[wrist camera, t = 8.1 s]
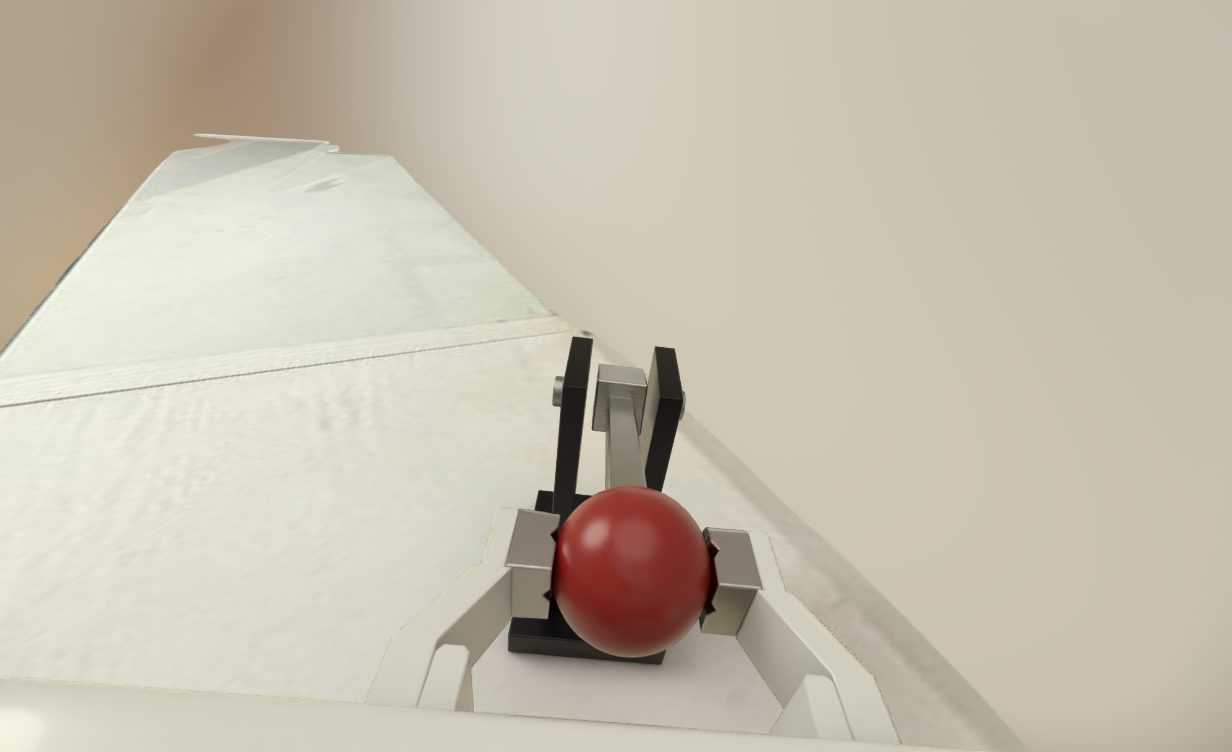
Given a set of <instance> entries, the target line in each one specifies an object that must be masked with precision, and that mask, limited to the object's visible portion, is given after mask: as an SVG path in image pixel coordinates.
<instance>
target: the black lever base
mask: <svg viewBox="0 0 1232 752" xmlns="http://www.w3.org/2000/svg"><path fill="white" fill-rule="evenodd" d="M592 345H593V339H590V338H582V337H572V342H571V347H570V352H569V357H568V362H567V367H566V371H565V376H564V377H561V376H556V378H555V382H554V389H553V399H552V405H553V406H556V407H561V411H560V423H559V435H558V448H557V460H556V472H555V484H554V492H552V491H542V490H539V491H538V496H537V500H536V505H535V510H534V511H542V512H550V513H559V514H561V515H560V527H559V533H560V531H561V529H562V527H563V525H564V523H565V522H566V520H567V519H568V518H569V516H570V515H571V514H572V513H573V511H574V510H575V509H576V508H577V507H578V506H579V505H581V504H582V503H583V502H584V501H586V500H587V499H589V498H590V497H592V496H590V495H580V494H576V485H577V477H578V468H579V459H580V450H581V442H582V433H583V424H584V415H585V407H586V398H587V389H588V380H589V372H590V363H591V354H592ZM684 410H685V392H684V391H682V387H681V381H680V376H679V369H678V364H677V358H676V352H675V349H673V348H664V347H657V346H656V347H655V349H654V354H653V359H652V364H651V369H650V374H649V380H648V389H647V396H646V403H645V409H644V416H643V422H642V429H641V434H640V436H639V441H640V447H641V454H642V460H643V466H644V473H645V479H646V485H647V488H650V489H654V490H657V491H659V492H662V488H663V484H664V480H665V476H666V472H667V468H668V463H669V459H670V455H671V451H672V447H673V443H674V439H675V435H676V430H677V426H678V422H679V420H681V419H682V418H683V415H684ZM558 535H559V534H558ZM508 651H510V652H522V653H533V654H545V655H556V656H568V657H579V658H591V659H602V660H614V661H625V662H637V663H648V664H662V661H663V658H664V655H665V652H666V649H665V650H663V651H661V652H659V653H656V654H653V655H648V656H643V657H634V658H632V657H620V656H615V655H611V654H608V653H605V652H602V651H600V650H598V649H596V648H595V647H593V646H592V645H590V644H588V643H587V642H585V641H584V640H583V639H582V638H581V637H579V636H578V635H577V634H576V633H575V631H574V630H573V629H572V628H571V627H570V626H569V624H568V623H567V621H566V620H565V618H564V616H563V614H562V613H561V611H560V609H559V607H558V604H557V601H556V598H555V595H554V591H553V585H552V594H551V601H550V608H549V614H548V619H540V618H522V617H512V619H511V624H510V629H509V634H508Z"/></svg>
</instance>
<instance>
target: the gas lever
mask: <svg viewBox="0 0 1232 752" xmlns="http://www.w3.org/2000/svg"><path fill="white" fill-rule="evenodd" d="M647 389H648V385H647V381H646V378H645V374H644V370H643V369H640V368H632V367H623V366H615V365H606V364H599V365H598V374H597V382H596V390H595V399H594V407H593V418H592V430H593V431H601V432H606V464H605V490H604V491H602V492H599V493H597V494H595V495H593V496H592V497H590V498H589V499H587V500H586V501H584V502H583V503H582V504H581V505H579V506H578V507H577V508H576V509H575V510H574V511H573V513H572V514H571V515H570V516H569V518H568V519H567V520H566V522H565V523H564V525H563V527H562V529H561V531H560V533H559V535H558V538H557V541H556V548H555V558H554V566H553V576H552V585H553V591H554V595H555V598H556V601H557V604H558V607H559V609H560V611H561V613H562V614H563V616H564V618H565V620H566V621H567V623H568V624H569V626H570V627H571V628H572V629H573V630H574V631H575V633H576V634H577V635H578V636H579V637H581V638H582V639H583V640H584V641H585V642H587V643H588V644H590V645H592V646H593V647H595V648H596V649H598V650H600V651H602V652H605V653H608V654H611V655H615V656H620V657H632V658H634V657H643V656H648V655H653V654H656V653H659V652H661V651H663V650H665V649H667V648H669V647H671V646H673V645H674V644H675V643H677V642H678V641H679V640H681V639H682V638H683V637H684V636H685V635H686V634H687V633H688V632H689V631H690V630H691V628H692V627H693V626H694V624H695V623H696V621H697V620H698V619H699V617H700V615H701V613H702V611H703V608H704V606H705V604H706V601H707V597H708V593H709V588H710V581H711V563H710V557H709V552H708V547H707V544H706V542H705V539H704V536H703V534H702V532H701V530H700V528H699V526H698V525H697V523H696V522H695V520H694V519H693V518H692V516H691V515H690V514H689V513H688V511H687V510H685V509H684V508H683V507H682V506H681V505H680V504H679V503H678V502H677V501H675V500H674V499H672V498H670V497H669V496H667V495H665V494H663V493H661V492H659V491H657V490H654V489H650V488H647V485H646V479H645V473H644V466H643V460H642V454H641V447H640V441H639V436H640V434H641V429H642V422H643V416H644V409H645V403H646V396H647Z"/></svg>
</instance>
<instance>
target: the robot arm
mask: <svg viewBox="0 0 1232 752" xmlns="http://www.w3.org/2000/svg"><path fill="white" fill-rule="evenodd" d="M560 515H561V514H559V513H550V512H542V511H534V510H526V509H516V508H507V507H499V508H498V509H497V511H496V513H495V517H494V520H493V524H492V527H491V530H490V534H489V537H488V541H487V544H486V547H485V551H484V554H483V558H482V561H481V564H474V565H473V566H471V567H470V568H469V569H468V570H467V571H466V572H465V573H464V574H462V575H461V576H460V577H459V578H458V579H457V580H456V581H454V582H453V583H452V584H451V585H450V586H449V587H448V588H447V589H445V590H444V591H443V592H442V593H441V594H440V595H439V596H438V597H436V598H435V599H434V600H433V601H432V602H431V603H430V604H429V605H427V606H426V607H425V608H424V609H423V610H422V611H421V612H420V613H418V614H417V615H416V616H415V617H414V618H413V619H412V620H411V621H409V622H408V623H407V624H406V625H405V626H404V627H403V628H402V629H400V630H399V631H398V632H397V633H396V634H395V635H394V636H393V637H391V640H390V642H389V645H388V647H387V649H386V652H385V654H384V657H383V659H382V661H381V664H380V666H379V669H378V671H377V673H376V676H375V678H374V681H373V683H372V685H371V688H370V690H369V693H368V695H367V697H366V700H365V702H364V703H352V702H338V701H325V700H312V699H299V698H286V697H272V696H259V695H246V694H233V693H220V692H207V691H194V690H181V689H168V688H155V687H142V686H129V685H116V684H103V683H90V682H77V681H65V680H52V679H40V678H28V677H14V676H0V752H996V751H983V750H970V749H957V748H944V747H930V746H917V745H904V744H902V743H901V740H900V738H899V735H898V733H897V731H896V728H895V726H894V723H893V721H892V718H891V716H890V713H889V711H888V708H887V706H886V704H885V701H884V699H883V696H882V694H881V691H880V689H879V686H878V684H877V682H876V679H875V678H874V677H873V676H872V675H871V673H870V672H869V671H868V670H867V669H866V668H865V667H864V666H863V665H862V664H861V663H860V662H859V661H858V660H857V659H856V658H855V657H854V656H853V655H852V654H851V653H850V652H849V651H848V650H847V649H846V648H845V647H844V646H843V644H842V643H841V642H840V641H839V640H838V639H837V638H836V637H835V636H834V635H833V634H832V633H831V632H830V631H829V630H828V629H827V628H826V627H825V626H824V625H823V624H822V623H821V622H820V621H819V620H818V619H817V618H816V617H815V616H814V614H813V613H812V612H811V611H810V610H809V609H808V608H807V607H806V606H805V605H804V604H803V603H802V602H801V601H800V600H799V599H798V598H797V597H796V596H795V595H794V594H793V593H788V592H787V591H786V588H785V585H784V582H783V579H782V576H781V572H780V569H779V566H778V563H777V560H776V557H775V553H774V550H773V547H772V544H771V541H770V537H769V536H768V534H767V533H763V532H752V531H744V530H733V529H721V528H709V527H706V528H705V529H704V530H703V533H702V534H703V536H704V539H705V542H706V544H707V547H708V552H709V557H710V563H711V581H710V588H709V593H708V597H707V601H706V604H705V606H704V608H703V611H702V613H701V615H700V617H699V622H700V629H701V632H704V633H712V634H721V635H730V636H736V639H737V641H738V642H739V644H740V645H741V647H742V648H743V649H744V651H745V652H746V654H747V655H748V657H749V658H750V660H751V661H752V663H753V664H754V666H755V667H756V669H757V670H758V672H759V673H760V675H761V676H762V677H763V679H764V680H765V682H766V683H767V685H768V686H769V688H770V689H771V691H772V692H773V694H774V695H775V697H776V698H777V700H778V701H779V703H780V704H781V706H782V707H783V708H784V710H783V712H782V713H781V715H780V716H779V718H778V720H777V721H776V723H775V724H774V726H773V727H772V729H771V730H770V732H769V734H759V733H746V732H733V731H720V730H707V729H694V728H681V727H668V726H655V725H642V724H629V723H615V722H602V721H589V720H576V719H563V718H549V717H536V716H523V715H510V714H497V713H483V712H474V705H473V690H472V675H471V668H472V667H473V666H474V664H475V663H476V662H477V661H478V659H479V658H480V657H481V656H482V654H483V653H484V652H485V651H486V650H487V648H488V647H489V646H490V645H491V643H492V642H493V641H494V640H495V639H496V637H497V636H498V635H499V634H500V632H501V631H502V630H503V629H504V628H505V626H506V625H507V624H508V623H509V621H510V620H511V617H522V618H540V619H548V614H549V608H550V601H551V594H552V576H553V566H554V558H555V548H556V541H557V538H558V534H559V527H560Z"/></svg>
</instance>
